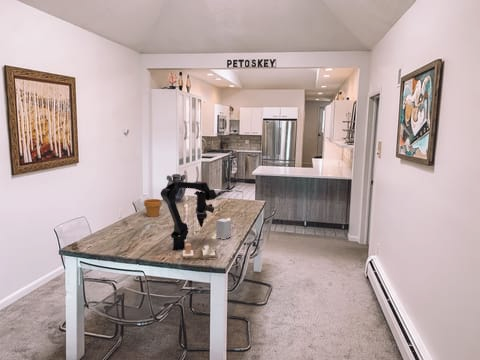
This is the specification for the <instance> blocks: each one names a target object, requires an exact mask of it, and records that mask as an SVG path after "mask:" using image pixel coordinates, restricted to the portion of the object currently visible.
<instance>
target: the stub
mask: <svg viewBox="0 0 480 360" xmlns="http://www.w3.org/2000/svg"><path fill="white" fill-rule="evenodd" d="M191 256H194V255H193V249H192V243H185V248H184V250H182V257H183V258H185V257H191Z"/></svg>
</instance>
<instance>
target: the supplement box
mask: <svg viewBox="0 0 480 360" xmlns="http://www.w3.org/2000/svg"><path fill="white" fill-rule="evenodd" d="M215 222H216V232H215V233H216V234H215V237H219V238H223V239H225V238H228V237H231V238H232V220H231V219H227V218H220V219H216V221H215Z"/></svg>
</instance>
